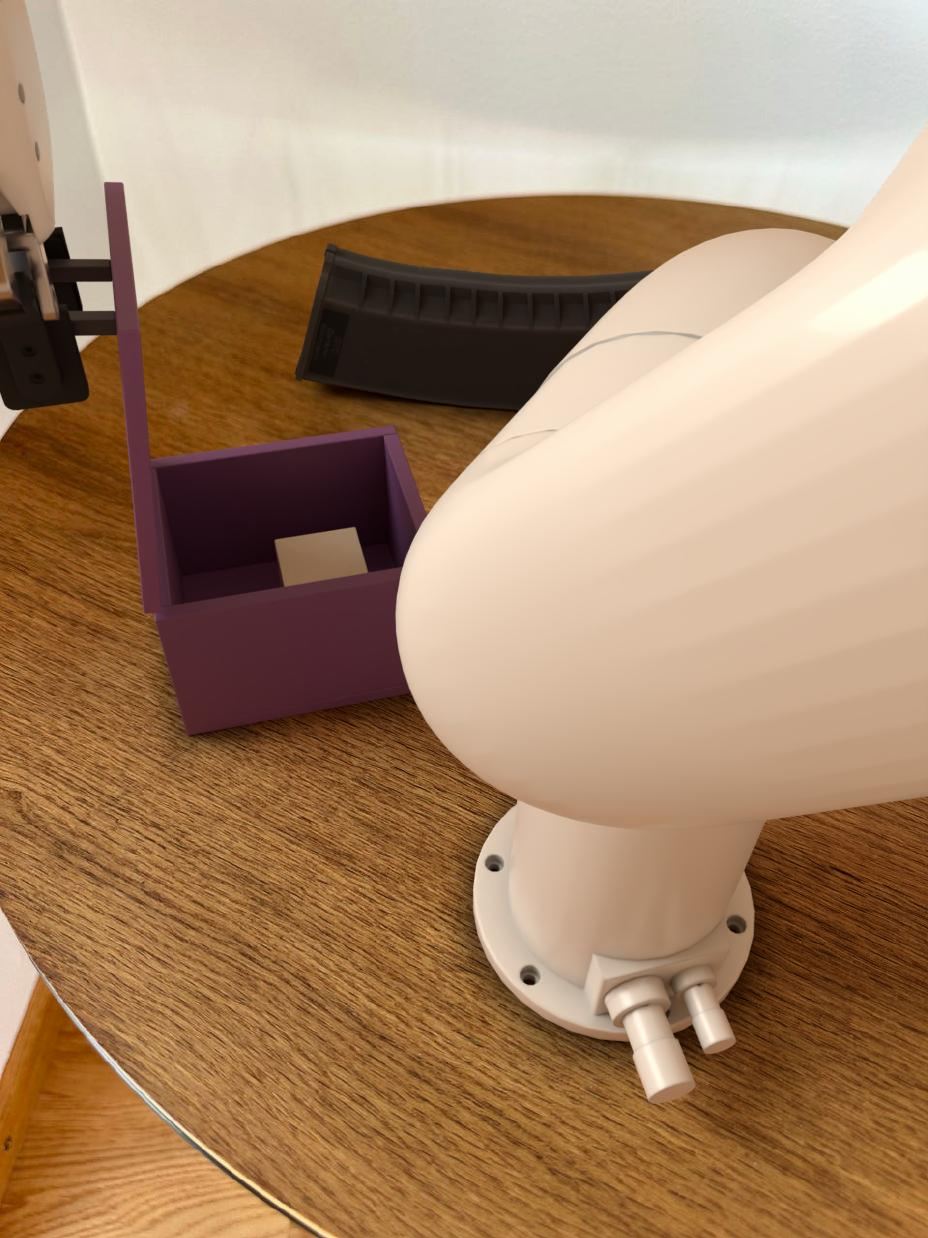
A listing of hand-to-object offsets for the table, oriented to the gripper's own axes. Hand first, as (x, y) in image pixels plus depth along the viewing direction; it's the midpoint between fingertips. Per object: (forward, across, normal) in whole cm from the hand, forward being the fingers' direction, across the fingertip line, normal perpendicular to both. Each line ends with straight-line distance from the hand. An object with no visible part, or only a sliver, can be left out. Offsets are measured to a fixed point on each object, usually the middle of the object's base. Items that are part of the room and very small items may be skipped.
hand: (46, 355), depth 44 cm
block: (+18, 0, +10) cm, 21 cm away
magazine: (+19, -18, +27) cm, 38 cm away
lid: (+3, 0, +3) cm, 4 cm away
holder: (+19, 0, +9) cm, 21 cm away
